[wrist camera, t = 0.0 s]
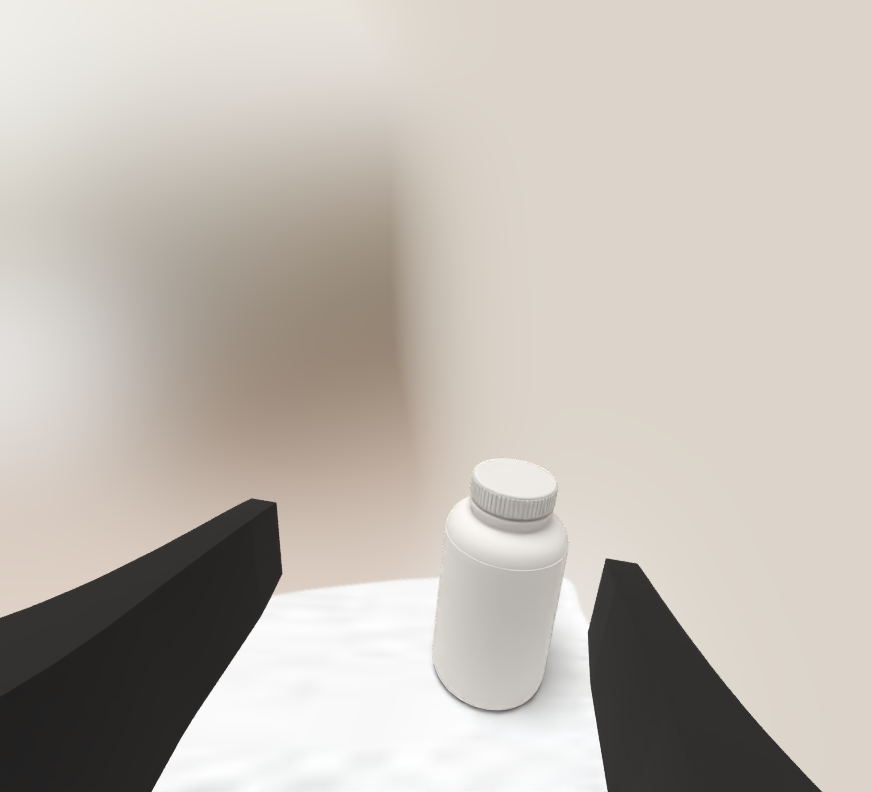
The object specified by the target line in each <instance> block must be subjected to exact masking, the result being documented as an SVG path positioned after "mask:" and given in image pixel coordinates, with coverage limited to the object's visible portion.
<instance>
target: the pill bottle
mask: <svg viewBox="0 0 872 792" xmlns="http://www.w3.org/2000/svg"><path fill="white" fill-rule="evenodd" d="M557 491H558V484H557V482H556V479H555V478H554V477H553V475H551V473H549V472H548V471H547V470H545V469H543V468H542V467H540V466H538V465H535V464H533V463H530V462H526V461H522V460H517V459H509V458H496V459H490V460H486V461H483V462H481V463H479V464H478V465H477V466H476V467H475V469H474V470H473V472H472V479H471V487H470V494H469V496H468V497H466V498H464V499H462V500H461V501H460V502H458V503H457V504H456V505H455V506H454V507H453V509H452V510H451V512H450V514H449V516H448V518H447V521H446V525H445V533H444V543H443V552H442V562H441V571H440V581H439V590H438V600H437V609H436V619H435V629H434V638H433V661H434V666H435V669H436V672H437V674H438V676H439V678H440V680H441V681H442V683H443V684H444V685H445V687H446V688H447V689H448V690H449V691H450V692H451V693H452V694H453V695H455V696H456V697H457V698H459V699H460V700H462V701H464V702H466V703H468V704H470V705H472V706H475V707H478V708H482V709H487V710H507V709H511V708H515V707H517V706H520V705H522V704H523V703H525V702H526V701H528V700H529V699H530V698H531V697H532V696H533V695H534V694H535V693H536V691H537V690H538V688H539V686H540V684H541V681H542V678H543V675H544V671H545V666H546V661H547V656H548V651H549V646H550V641H551V636H552V631H553V625H554V620H555V615H556V610H557V605H558V600H559V595H560V590H561V585H562V579H563V574H564V569H565V564H566V559H567V554H568V537H567V532H566V529H565V527H564V525H563V523H562V521H561V520H560V518H559V517H558V516H557V515H556V514H555V513H554V512H553V509H554V506H555V501H556V496H557Z"/></svg>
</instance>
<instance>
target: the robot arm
mask: <svg viewBox="0 0 872 792" xmlns="http://www.w3.org/2000/svg"><path fill="white" fill-rule="evenodd" d="M281 575H282V564H281V552H280V541H279V528H278V516H277V505H276V503H275V502H269V501H264V500H257V499H250V500H247V501H245V502H243V503H241V504H239V505H237V506H235V507H234V508H232V509H230V510H228V511H226V512H224V513H222V514H220V515H219V516H217V517H215V518H213V519H211V520H210V521H208V522H206V523H204V524H202V525H201V526H199V527H197V528H195V529H193V530H191V531H190V532H188V533H186V534H184V535H182V536H180V537H178V538H177V539H175V540H173V541H171V542H169V543H167V544H165V545H164V546H162V547H160V548H158V549H156V550H154V551H152V552H150V553H148V554H146V555H144V556H142V557H140V558H138V559H136V560H134V561H132V562H130V563H128V564H126V565H124V566H122V567H120V568H118V569H116V570H114V571H112V572H110V573H108V574H106V575H104V576H102V577H99V578H97V579H95V580H93V581H91V582H89V583H86V584H84V585H82V586H79V587H77V588H75V589H73V590H70V591H68V592H65V593H63V594H61V595H58V596H56V597H54V598H51V599H49V600H46V601H44V602H42V603H39V604H37V605H34V606H32V607H29V608H27V609H24V610H21V611H18V612H15V613H13V614H10V615H7V616H4V617H2V618H0V792H152V790H153V788H154V786H155V784H156V782H157V781H158V779H159V777H160V775H161V773H162V772H163V770H164V768H165V766H166V764H167V763H168V761H169V759H170V757H171V755H172V754H173V752H174V750H175V748H176V746H177V744H178V743H179V741H180V739H181V737H182V736H183V734H184V732H185V731H186V729H187V728H188V726H189V724H190V723H191V721H192V719H193V718H194V716H195V715H196V713H197V711H198V710H199V709H200V707H201V706H202V704H203V703H204V701H205V700H206V698H207V697H208V695H209V694H210V692H211V691H212V689H213V688H214V686H215V685H216V683H217V682H218V680H219V679H220V677H221V676H222V674H223V673H224V671H225V670H226V668H227V667H228V665H229V664H230V662H231V661H232V659H233V658H234V656H235V655H236V653H237V652H238V650H239V649H240V647H241V646H242V644H243V643H244V641H245V640H246V638H247V637H248V635H249V634H250V632H251V631H252V629H253V628H254V626H255V625H256V623H257V622H258V620H259V618H260V617H261V615H262V613H263V611H264V609H265V608H266V606H267V604H268V602H269V600H270V598H271V596H272V594H273V592H274V590H275V588H276V586H277V584H278V582H279V579H280V577H281ZM588 646H589V667H590V684H591V691H592V697H593V704H594V710H595V716H596V722H597V729H598V735H599V741H600V747H601V753H602V759H603V765H604V771H605V778H606V784H607V790H608V792H822V791H821V790H820V789H819V788H818V787H817V786H816V785H815V784H814V783H813V782H812V781H811V780H810V779H809V778H808V777H807V776H806V775H805V774H804V773H803V772H802V771H801V769H800V768H799V767H798V766H797V765H796V764H795V763H794V762H793V761H792V760H791V759H790V758H789V757H788V755H786V753H784V751H782V749H781V748H780V747H779V746H778V745H777V744H776V742H775V741H774V740H773V739H772V738H771V737H770V736H769V735H768V734H767V733H766V732H765V730H763V728H762V727H761V726H760V725H759V724H758V723H757V721H756V720H755V719H754V718H753V717H752V716H751V714H750V713H749V712H748V711H747V710H746V709H745V707H744V706H743V705H742V704H741V703H740V701H739V700H738V699H737V698H736V696H735V695H734V694H733V693H732V692H731V690H730V689H729V688H728V687H727V686H726V684H725V683H724V682H723V681H722V679H721V678H720V677H719V675H718V674H717V673H716V672H715V670H714V669H713V668H712V667H711V666H710V664H709V663H708V661H707V660H706V659H705V657H704V656H703V655H702V653H701V652H700V651H699V650H698V648H697V647H696V645H695V644H694V643H693V642H692V640H691V639H690V638H689V636H688V635H687V634H686V632H685V631H684V629H683V628H682V627H681V625H680V624H679V623H678V621H677V620H676V618H675V617H674V615H673V614H672V613H671V611H670V610H669V608H668V607H667V605H666V604H665V603H664V601H663V600H662V599H661V597H660V595H659V594H658V592H657V591H656V590H655V588H654V587H653V585H652V584H651V582H650V581H649V579H648V578H647V576H646V575H645V574H644V572H643V571H642V569H641V568H640V567H639V565H638V564H636V563H629V562H624V561H618V560H612V559H606V560H605V564H604V569H603V573H602V577H601V581H600V585H599V589H598V593H597V597H596V601H595V606H594V610H593V614H592V618H591V622H590V626H589V630H588Z"/></svg>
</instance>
